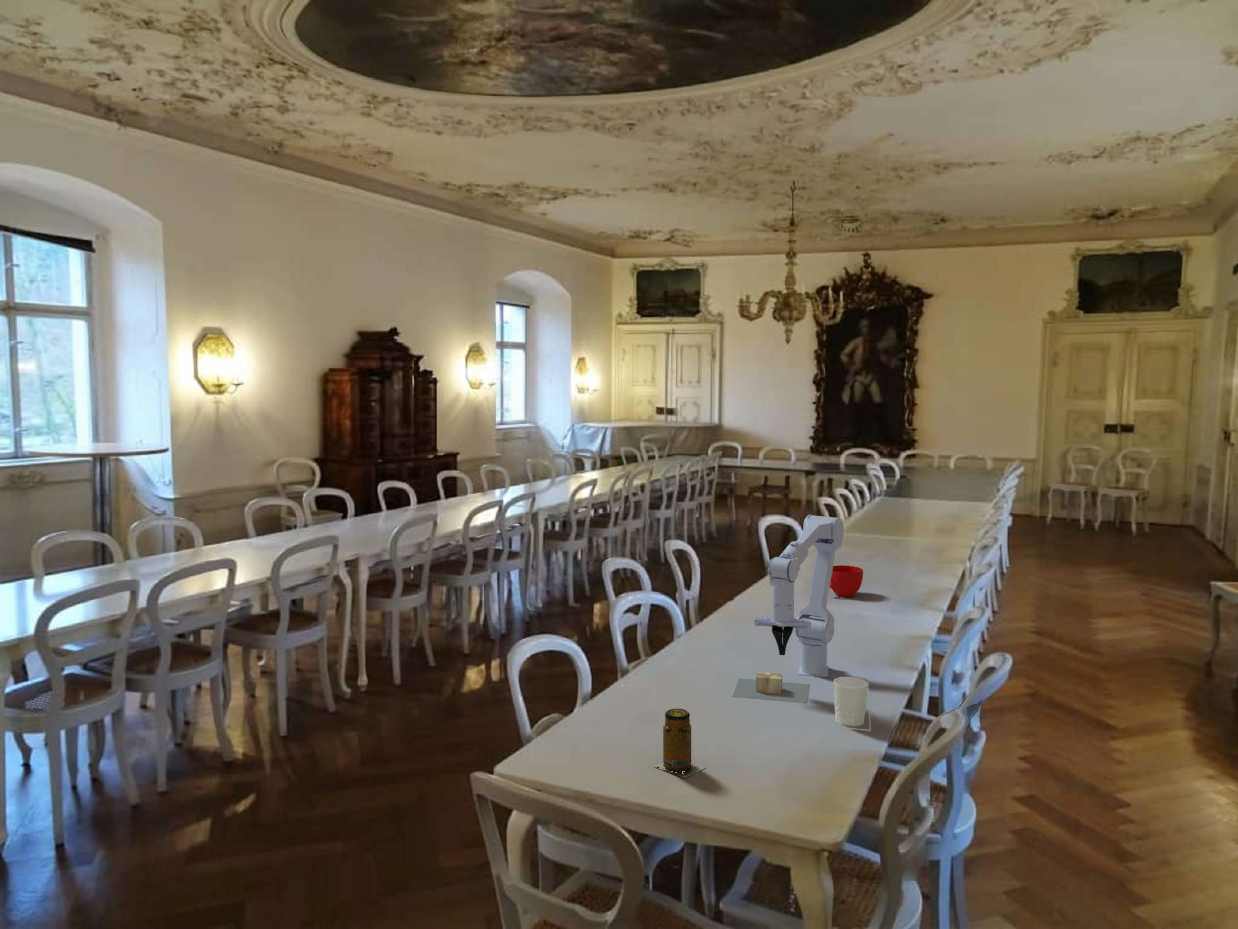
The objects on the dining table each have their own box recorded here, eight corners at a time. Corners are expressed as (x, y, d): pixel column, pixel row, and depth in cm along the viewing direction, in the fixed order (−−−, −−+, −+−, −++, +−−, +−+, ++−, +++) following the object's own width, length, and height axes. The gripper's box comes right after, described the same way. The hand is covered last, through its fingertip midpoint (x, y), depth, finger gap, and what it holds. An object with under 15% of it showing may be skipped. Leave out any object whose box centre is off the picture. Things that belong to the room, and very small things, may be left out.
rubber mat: (739, 679, 242) (739, 678, 242) (809, 685, 237) (809, 684, 237) (732, 698, 229) (732, 696, 229) (807, 704, 224) (807, 703, 224)
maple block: (782, 688, 234) (757, 686, 236) (782, 673, 234) (757, 671, 235) (780, 693, 230) (755, 691, 232) (780, 679, 230) (755, 676, 232)
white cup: (843, 730, 208) (844, 689, 207) (826, 718, 215) (827, 678, 214) (873, 726, 210) (874, 686, 209) (855, 714, 217) (856, 675, 216)
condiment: (675, 756, 194) (675, 703, 193) (706, 768, 189) (706, 714, 187) (653, 767, 189) (653, 713, 188) (684, 779, 183) (684, 724, 182)
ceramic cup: (811, 593, 336) (812, 567, 335) (850, 589, 341) (851, 564, 340) (829, 601, 324) (829, 574, 323) (869, 597, 329) (870, 571, 328)
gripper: (753, 605, 228) (752, 656, 230) (810, 609, 224) (809, 661, 226) (756, 598, 235) (755, 648, 236) (812, 602, 231) (811, 652, 233)
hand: (782, 654), depth 232 cm, fingers closed
